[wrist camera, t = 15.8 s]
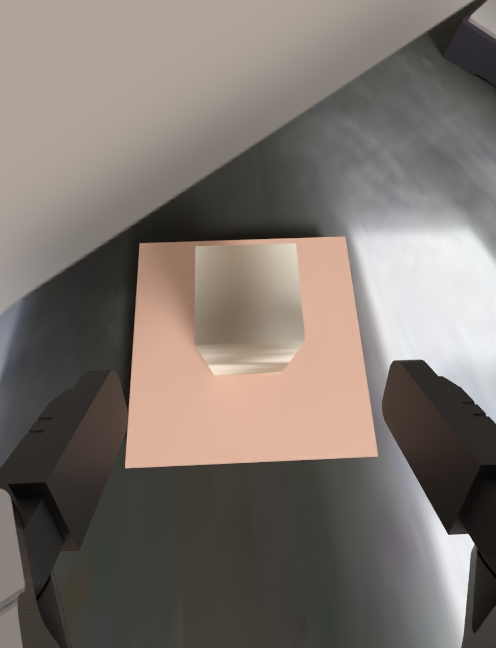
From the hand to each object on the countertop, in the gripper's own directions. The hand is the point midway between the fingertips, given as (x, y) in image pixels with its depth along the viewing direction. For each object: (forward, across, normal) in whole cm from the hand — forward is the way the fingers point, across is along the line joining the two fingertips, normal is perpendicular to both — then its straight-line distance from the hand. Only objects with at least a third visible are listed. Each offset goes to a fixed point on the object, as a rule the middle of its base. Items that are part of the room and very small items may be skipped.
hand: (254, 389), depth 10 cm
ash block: (+12, 0, +5) cm, 13 cm away
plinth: (+14, 0, +8) cm, 16 cm away
